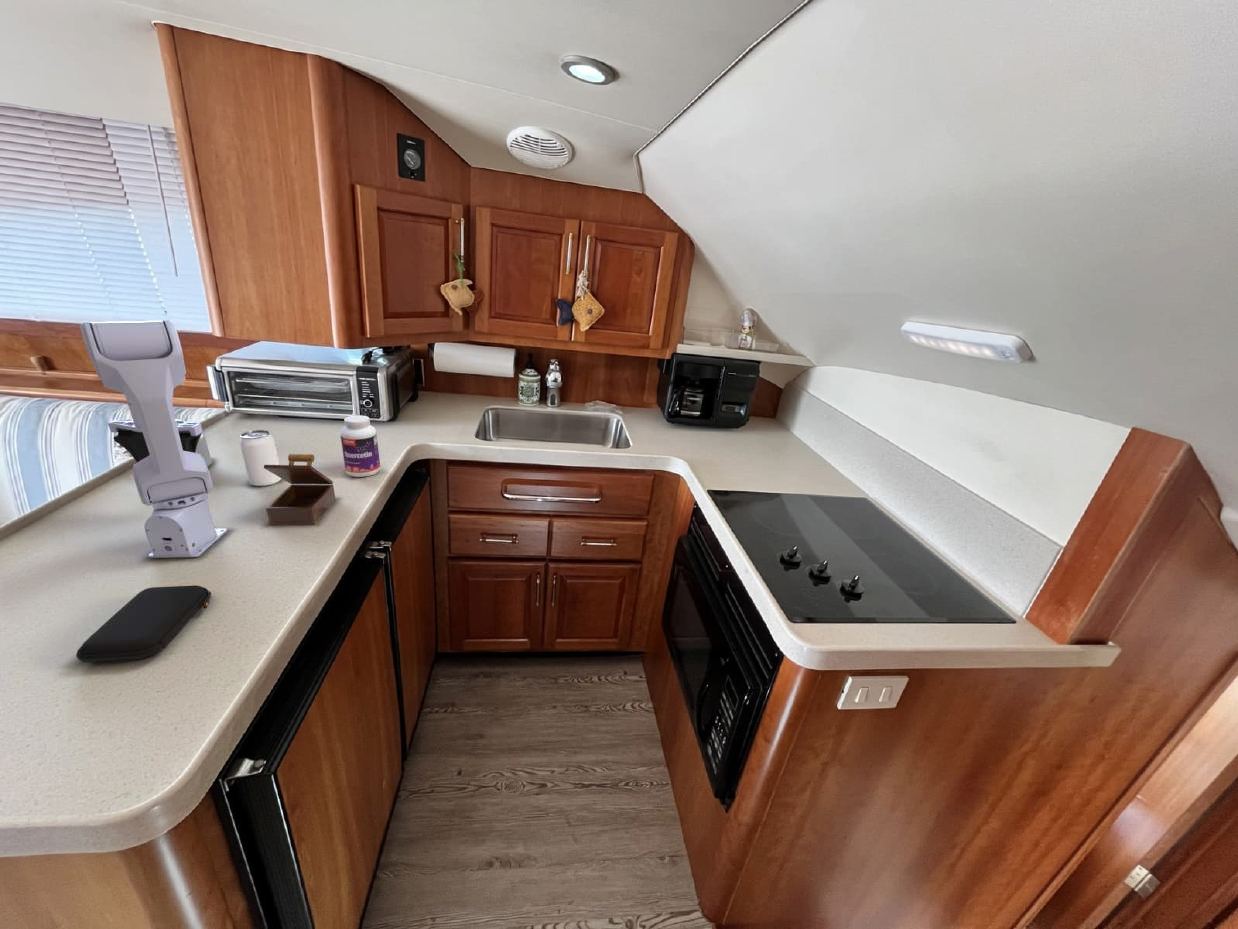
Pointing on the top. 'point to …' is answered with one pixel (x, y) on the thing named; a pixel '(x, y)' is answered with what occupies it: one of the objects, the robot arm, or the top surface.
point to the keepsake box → (301, 504)
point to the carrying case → (144, 624)
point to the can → (259, 457)
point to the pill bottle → (360, 447)
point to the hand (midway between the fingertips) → (168, 466)
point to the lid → (299, 471)
